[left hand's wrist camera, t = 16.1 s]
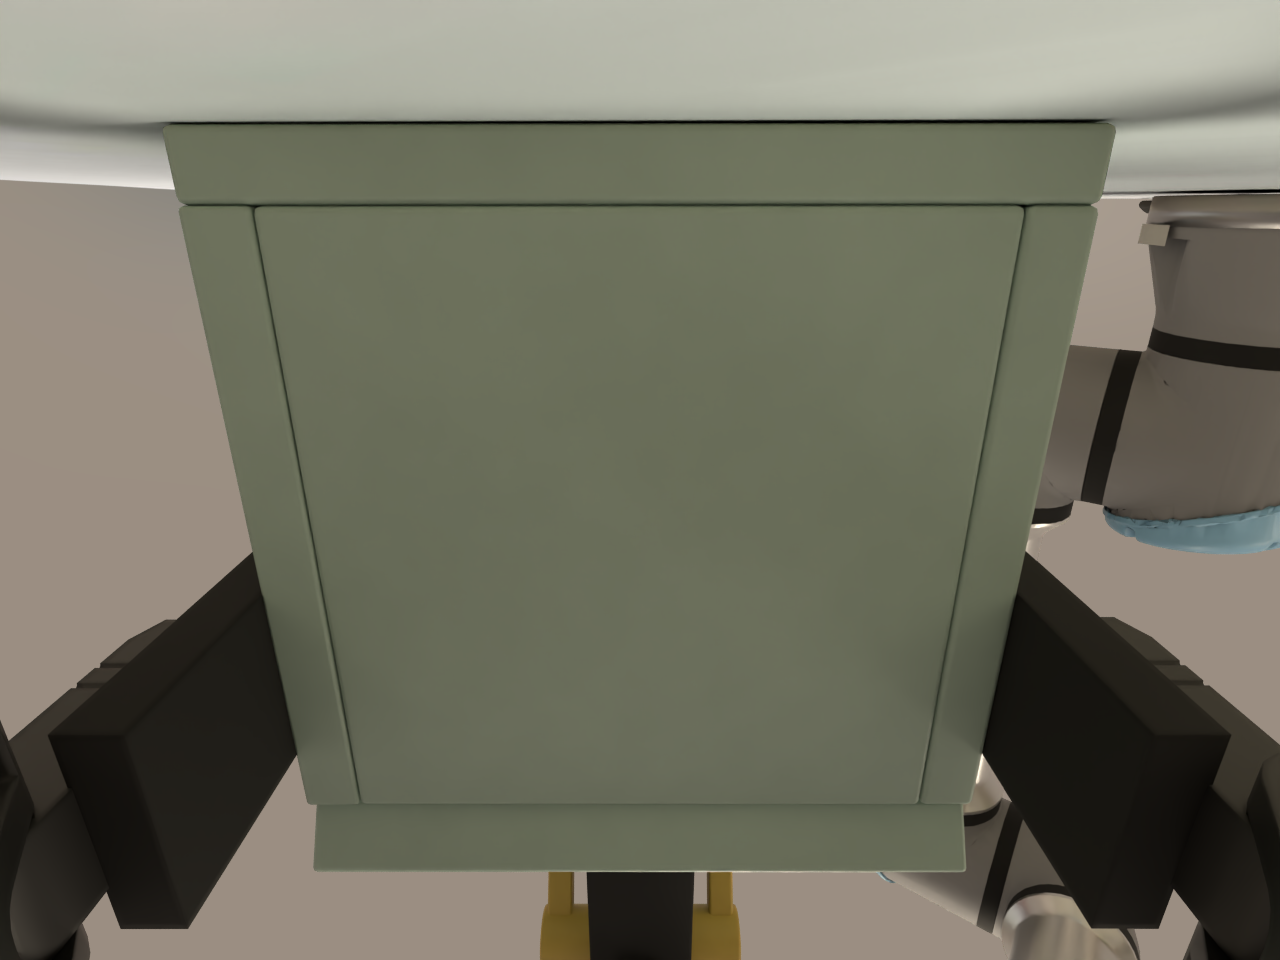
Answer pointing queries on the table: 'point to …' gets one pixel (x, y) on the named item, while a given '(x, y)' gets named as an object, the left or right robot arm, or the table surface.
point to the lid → (640, 849)
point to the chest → (639, 443)
